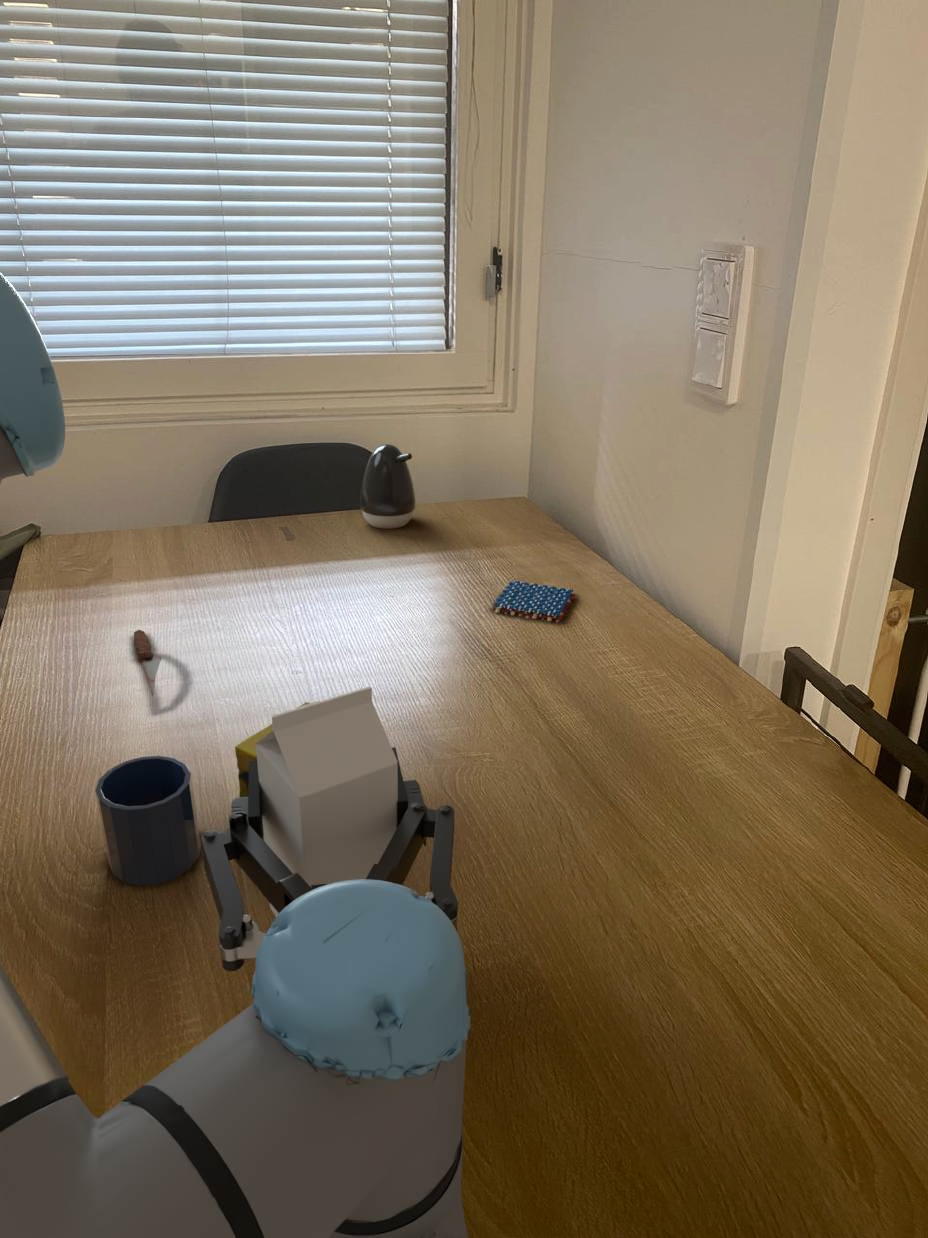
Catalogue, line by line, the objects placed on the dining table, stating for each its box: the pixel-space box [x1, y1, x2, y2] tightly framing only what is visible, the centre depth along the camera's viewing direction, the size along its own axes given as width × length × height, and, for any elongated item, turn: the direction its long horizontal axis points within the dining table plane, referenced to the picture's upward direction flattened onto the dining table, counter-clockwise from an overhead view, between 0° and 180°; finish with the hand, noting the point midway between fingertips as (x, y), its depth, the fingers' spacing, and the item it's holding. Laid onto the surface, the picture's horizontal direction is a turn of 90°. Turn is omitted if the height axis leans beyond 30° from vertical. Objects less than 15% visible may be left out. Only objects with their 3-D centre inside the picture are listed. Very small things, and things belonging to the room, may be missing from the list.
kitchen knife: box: [133, 629, 162, 697], centre depth 116 cm, size 21×2×5 cm
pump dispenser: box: [359, 443, 417, 530], centre depth 165 cm, size 10×10×15 cm
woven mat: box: [492, 580, 576, 623], centre depth 137 cm, size 10×11×2 cm
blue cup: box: [94, 755, 202, 887], centre depth 83 cm, size 8×8×9 cm
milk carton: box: [256, 686, 398, 918], centre depth 63 cm, size 7×7×19 cm
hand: (323, 769), depth 67 cm, fingers closed on milk carton, 9 cm apart
